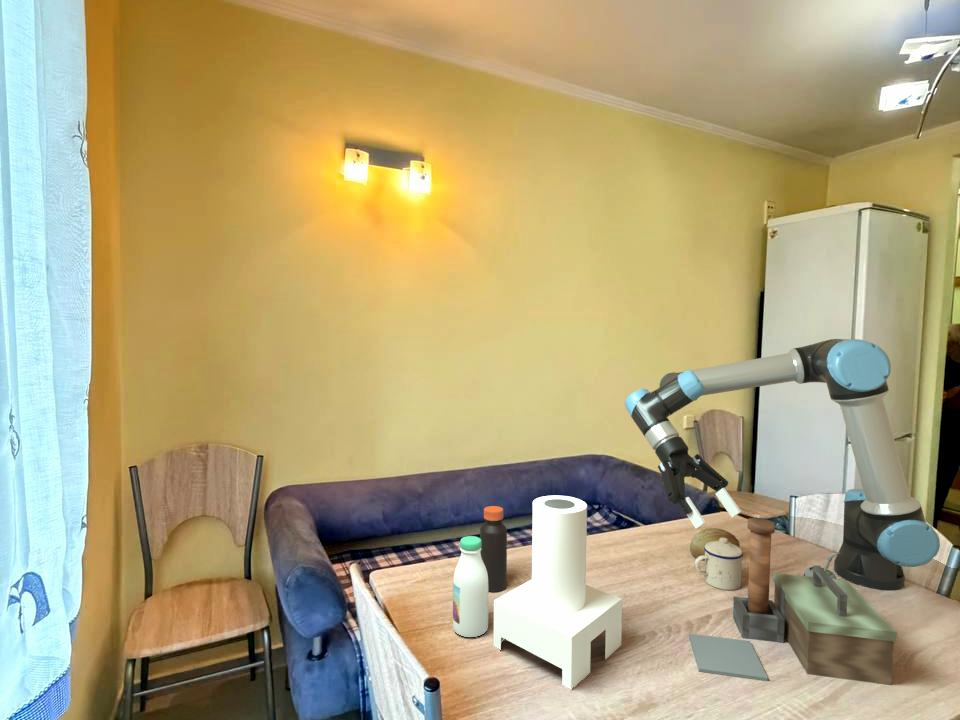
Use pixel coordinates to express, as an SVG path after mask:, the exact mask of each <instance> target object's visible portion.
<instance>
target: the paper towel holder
mask: <svg viewBox="0 0 960 720" xmlns="http://www.w3.org/2000/svg"><path fill="white" fill-rule="evenodd" d="M587 523H588V504H587V503H586V502H585V501H583V500H582V499H579V498H576V497H573V496H570V495H569V496H568V495H556V494H555V495H546V496H544V495H543V496H540V497H537V498H535V499H534V500H533V501H532V527H531V528H532V531H531V534H532V538H531V541H532V542H531V543H532V545H531V546H532V547H531V552H532V553H531V579H530V580H528V581H526V582H524V583H522V584H521V585H519V586H517V587H515V588H514V589H512V590H510V591H508V592H507V593H504V594H503V595H501V596H500V597H497V598H496V599H494V600H493V647H494V646H495V647H497V648H499V649H500V650H501V651H502V649H501V648H502V647H501V646H502V642H501V641H502V640H503V639H506V640H505V641H507V642H510V643H512V644H514V645H515V646H518V647H520V648H521V649H524V651H527V652H529V653H530V654H533V655H534V656H536V657H538V658H540V659H542V660H544V661H546V662H548V663H550V664H552V665H554V666H555V667H558V669H559V668H560V669H561V670H562V671H561V674H562V675H561V686H562V685H564V686H566V687H568V688H570V689H571V690H570V689H569V690H570V691H572V690H573V689H574V688H576V687H577V686H578V685H577V684H578V683H579V682H580V681H581V680H582V681H583V680H584V679H585V678H587V677H588V676H589V675H590V674H591V655H592V654H591V653H592V652H591V651H592V650H591V648H592V647H591V644H592V641H593V640H594V639H596V638H597V637H599V636H600V635H601V634H602V633H603V632H604V631H605V642H604V643H605V647H604V648H605V651H604V653H605V654H604V660H607V659H608V658H610V656H611V655H612V654H613V653H615V652H616V651H617V650H618V649H619V648H620V647H621V646H622V623H623V622H622V621H623V619H622V618H623V616H622V615H623V598H622V597H620V596H617V595H614V594H611V593H609V592H606V591H603V590H601V589H598V588H595V587H593V586H590V585H588V584H587V583H586V582H587V578H586V577H587V530H588V529H587V527H588V525H587ZM589 673H590V674H589ZM588 674H589V675H588ZM587 675H588V676H587ZM586 676H587V677H586ZM582 681H581V682H582ZM581 682H580V683H581ZM580 683H579V684H580ZM564 686H563V687H564ZM566 687H565V688H566ZM573 687H574V688H573ZM568 688H567V689H568ZM572 688H573V689H572Z"/></svg>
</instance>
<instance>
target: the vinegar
mask: <svg viewBox="0 0 960 720" xmlns="http://www.w3.org/2000/svg"><path fill="white" fill-rule="evenodd" d="M483 520H484V523H483V524H482V525H481V527H480V529H479V538H480V539H481V543H482V545H481V551H480V554H481V558H482V560H483V563H484V565H485V567H486V570H487V574H488V591H491V592H490V593H498V592H497V591H499V592H502V591H503V590H505V589H506V587H507V569H508V568H507V566H508V563H507V561H508V557H507V555H508V537H507V536H508V529H507V526H505V524H504V523H503V520H504V508H503V507H500V506H498V505H497V506H496V505H490V506H486V507H484V508H483ZM501 590H502V591H501Z"/></svg>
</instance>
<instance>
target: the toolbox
mask: <svg viewBox="0 0 960 720" xmlns="http://www.w3.org/2000/svg"><path fill="white" fill-rule="evenodd" d="M812 567H813V577H809V576H804V575H797V574H789V573H788V574H786V573H777V572H773V578H772V582H773V583H774V598H773V600H770V599H769V611H768V615H766V614H757V613H748V597H743V596H733V607H732V608H733V609H732V611H733V612H732V619H733V621H734V623H735V625H736V628H737V630H738V632H739V634H740V636H741V638H742V639H750V640H758V641H759V640H760V641H767V642H773V643H774V642H775V643H782V644H783V643H784V642H785V640H786V641H787V643H788V644H789V646H790V647H791V649H792V651H793V653H794V655H796V658H797V659H798V661H799V662H800V664H801V666H802V667H803V670H804V671H805V673H806V674H807V675H811V676H812V675H814V676H822V677H828V678H837V679H842V680H851V681H858V682H859V681H860V682H865V683H866V682H867V683H875V684H880V685H881V684H882V685H890V686H892V685H893V684H892V682H893V663H894V661H893V660H894V642H896V643H897V642H898V641H897V637H898V631H896V629H895V628H894V627H892V625H891V624H890V623H889V622H888V621H887V620H886V619H885V618H884V617H883V616H882V615H881V614H880V613H879V612H878V611H877V610H876V608H874V607H873V606H872V605H871V604H870V603H869V602H868V600H866V599H865V598H864V597H863V595H861V594H860V593H859V592H858V591H857V590H856V589H855V587H853V585H852V584H850V582H849V581H848V580H846V579H841V578H840V579H838V578H837V579H832V578H831V577H830V576H829V575H828V574H827V573H826V572H825V571H824V570H823V569H822V568H823V567H822V566H820V565H816V564H813V566H812ZM821 567H822V568H821Z"/></svg>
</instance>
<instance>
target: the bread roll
mask: <svg viewBox="0 0 960 720" xmlns="http://www.w3.org/2000/svg"><path fill="white" fill-rule="evenodd" d="M720 538H726V539H727V540H728V542H729V543H731V544H733V545H735V546H737V547H739V548H740V549H741V545H740V541H739V539H738V538H737V537H736V536H735V534H733V533H731V532H729V531H727V530H724V529H722V528H716V527H709V528H708V527H707V528H703V529H701V530H699V531H698V532H697V533H696V534H695V535H694V536H693V537H692V539H691V541H690V545H689V552H690V554H691V555H692V557H694V558H695V559H697V558H698V557H699V556H702V555H705V550H704V547H705V545H706V544H707V543H709V542H713V541H719V539H720Z"/></svg>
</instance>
